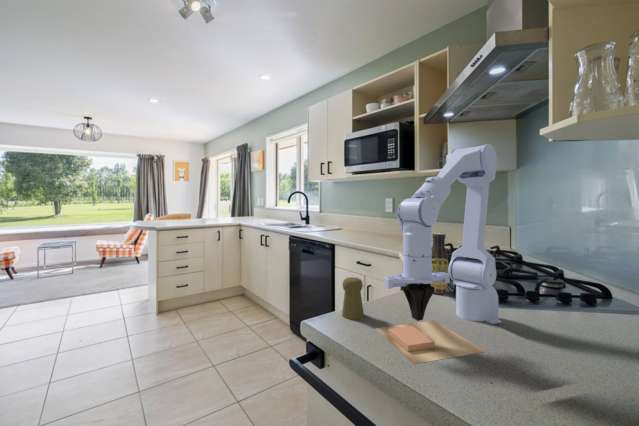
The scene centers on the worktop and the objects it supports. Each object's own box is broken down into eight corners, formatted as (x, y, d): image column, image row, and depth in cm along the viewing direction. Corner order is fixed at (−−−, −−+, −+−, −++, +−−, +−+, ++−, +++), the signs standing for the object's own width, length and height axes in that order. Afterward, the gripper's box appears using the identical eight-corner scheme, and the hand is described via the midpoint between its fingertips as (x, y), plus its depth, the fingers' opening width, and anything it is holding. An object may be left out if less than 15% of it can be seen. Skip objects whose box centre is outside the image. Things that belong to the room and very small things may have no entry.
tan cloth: (434, 325, 73) (434, 320, 73) (486, 357, 58) (486, 351, 58) (375, 333, 69) (375, 328, 69) (413, 370, 54) (413, 364, 54)
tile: (412, 325, 67) (388, 328, 65) (434, 341, 59) (407, 345, 58) (412, 331, 67) (388, 334, 65) (434, 348, 59) (407, 352, 58)
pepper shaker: (364, 325, 74) (363, 281, 73) (339, 323, 75) (339, 280, 75) (365, 316, 80) (364, 275, 79) (342, 314, 81) (342, 274, 80)
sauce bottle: (429, 294, 97) (429, 234, 97) (425, 289, 104) (425, 232, 103) (450, 295, 96) (450, 234, 96) (445, 289, 103) (445, 232, 102)
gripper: (395, 260, 56) (396, 330, 57) (459, 256, 60) (459, 321, 61) (379, 254, 63) (379, 317, 64) (437, 250, 67) (437, 310, 67)
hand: (417, 318), depth 63 cm, fingers closed
